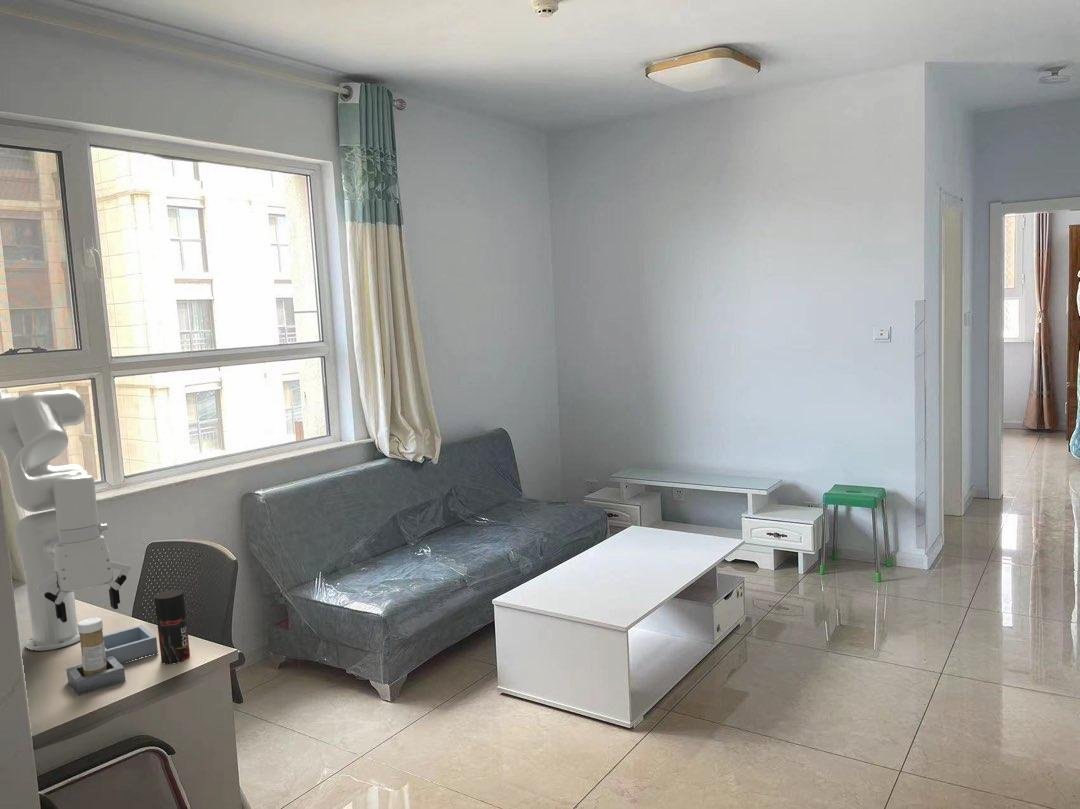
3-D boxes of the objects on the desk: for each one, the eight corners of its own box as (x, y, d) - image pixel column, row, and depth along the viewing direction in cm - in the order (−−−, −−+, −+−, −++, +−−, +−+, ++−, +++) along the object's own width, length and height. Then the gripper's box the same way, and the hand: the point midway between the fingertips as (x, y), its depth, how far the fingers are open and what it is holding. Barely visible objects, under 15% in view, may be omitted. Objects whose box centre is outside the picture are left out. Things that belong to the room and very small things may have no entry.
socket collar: (67, 682, 174) (66, 668, 174) (114, 668, 180) (112, 655, 179) (78, 695, 167) (76, 681, 167) (125, 681, 173) (124, 667, 173)
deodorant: (184, 663, 181) (177, 597, 179) (157, 665, 180) (149, 599, 179) (193, 652, 187) (187, 588, 185) (167, 654, 186) (160, 590, 185)
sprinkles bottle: (90, 678, 175) (83, 617, 174) (112, 676, 176) (105, 615, 174) (80, 687, 171) (73, 625, 169) (103, 685, 171) (96, 623, 170)
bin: (92, 655, 188) (90, 638, 187) (143, 641, 195) (141, 624, 194) (105, 669, 180) (103, 652, 179) (158, 653, 187) (156, 637, 186)
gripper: (119, 523, 178) (128, 599, 180) (28, 540, 167) (38, 622, 168) (129, 528, 173) (138, 606, 174) (35, 546, 161) (46, 630, 163)
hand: (89, 614), depth 171 cm, fingers open, 9 cm apart
